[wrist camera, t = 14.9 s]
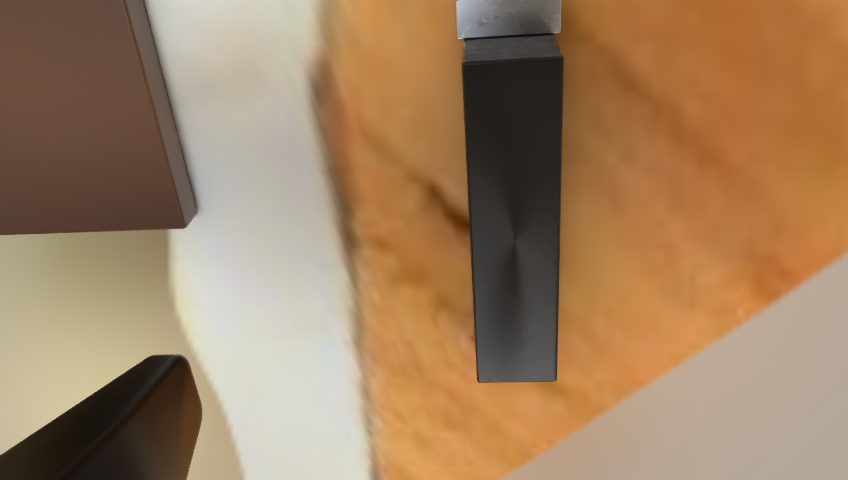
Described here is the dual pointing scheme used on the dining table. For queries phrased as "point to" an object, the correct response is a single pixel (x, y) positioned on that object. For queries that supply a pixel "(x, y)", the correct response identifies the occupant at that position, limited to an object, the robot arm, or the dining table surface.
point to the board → (86, 122)
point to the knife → (513, 182)
